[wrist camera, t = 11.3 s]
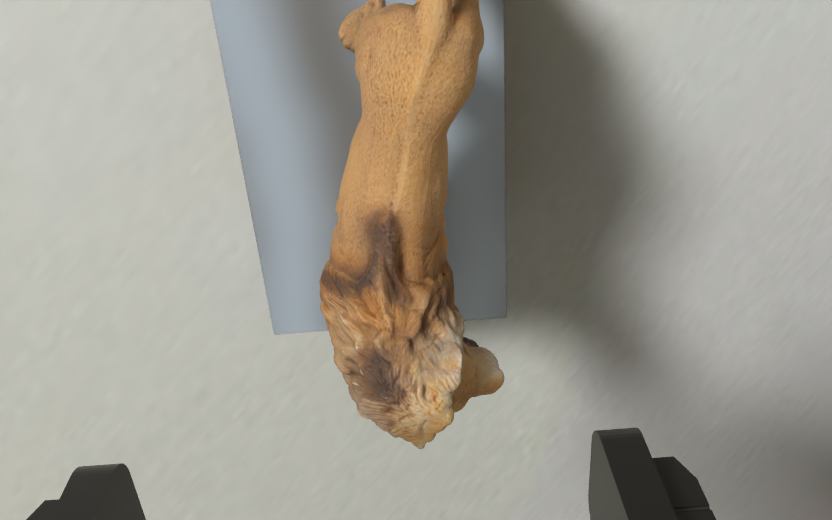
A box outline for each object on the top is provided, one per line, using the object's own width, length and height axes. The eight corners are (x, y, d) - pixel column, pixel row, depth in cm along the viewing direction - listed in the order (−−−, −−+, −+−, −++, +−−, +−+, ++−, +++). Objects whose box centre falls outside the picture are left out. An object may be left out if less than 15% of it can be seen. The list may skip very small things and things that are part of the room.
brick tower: (482, -118, 31) (519, -95, 23) (489, 213, 39) (519, 327, 30) (236, -100, 31) (179, -69, 23) (290, 228, 39) (263, 346, 30)
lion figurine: (480, 295, 29) (515, 468, 21) (339, 302, 29) (323, 478, 21) (482, -142, 22) (537, -121, 14) (295, -134, 22) (246, -109, 14)
